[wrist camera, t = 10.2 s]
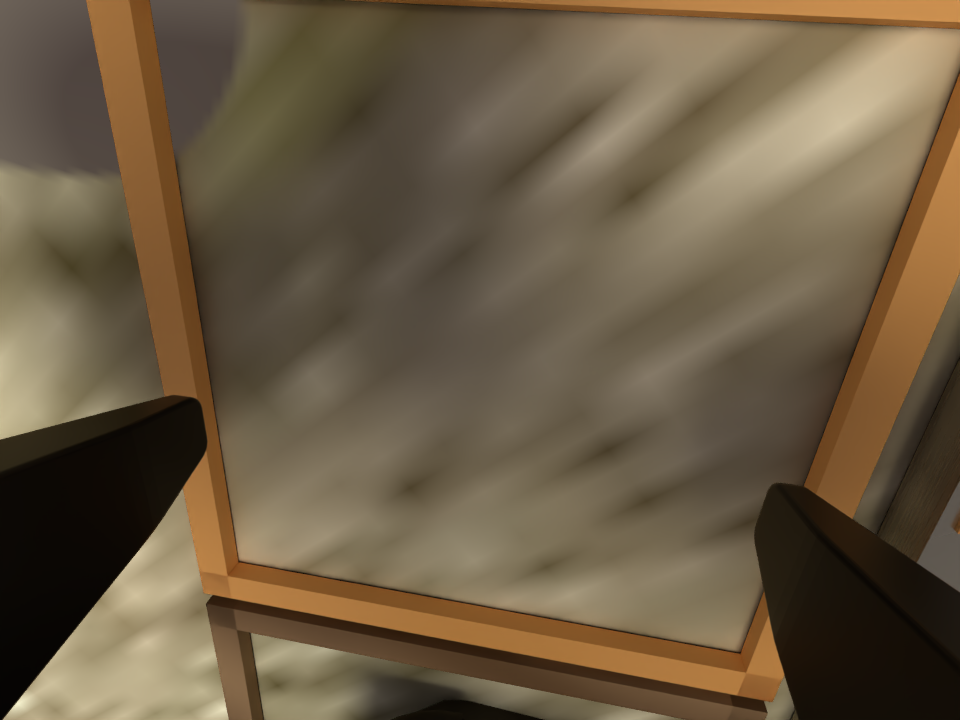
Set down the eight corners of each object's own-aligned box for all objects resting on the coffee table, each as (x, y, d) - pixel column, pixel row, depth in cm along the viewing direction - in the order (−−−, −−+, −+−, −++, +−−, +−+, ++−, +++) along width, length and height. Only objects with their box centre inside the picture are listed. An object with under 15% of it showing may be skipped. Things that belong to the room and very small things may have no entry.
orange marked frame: (766, 682, 13) (772, 702, 13) (215, 578, 15) (203, 593, 15) (1067, -37, 7) (1098, -46, 7) (95, -68, 9) (71, -77, 9)
